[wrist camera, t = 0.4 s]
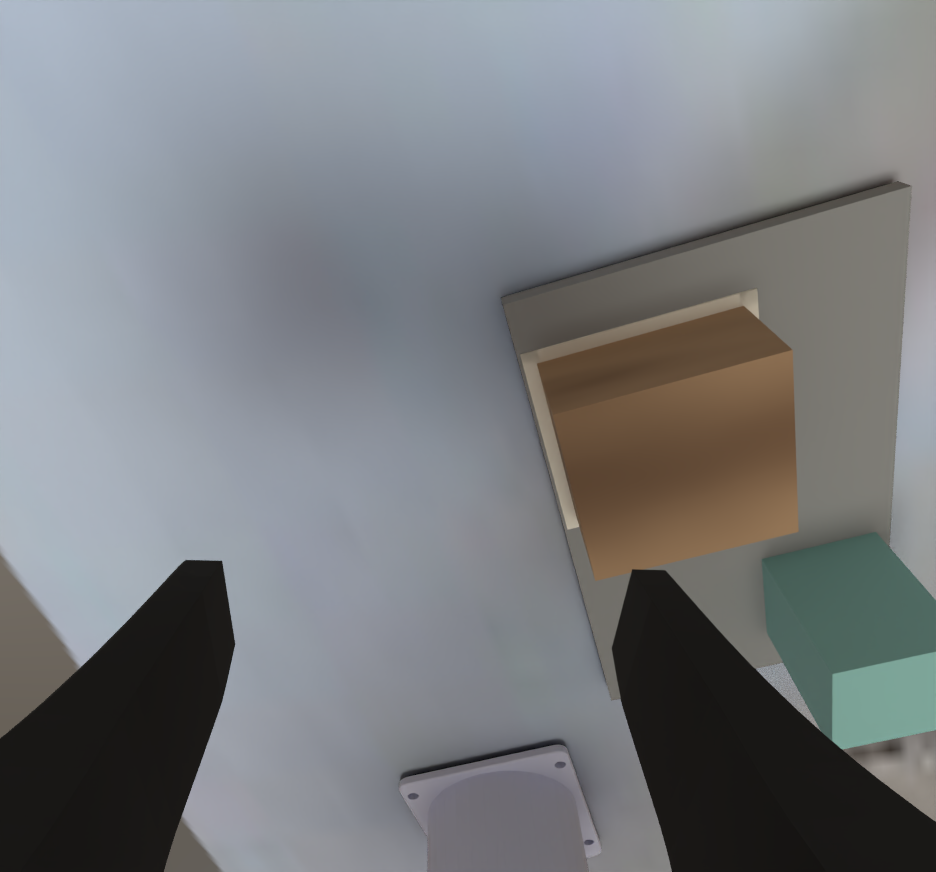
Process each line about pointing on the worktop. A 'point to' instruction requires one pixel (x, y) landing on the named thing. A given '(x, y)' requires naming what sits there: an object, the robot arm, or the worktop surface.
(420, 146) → the worktop surface
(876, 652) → the teal block
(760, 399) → the walnut slab
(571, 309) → the build mat
